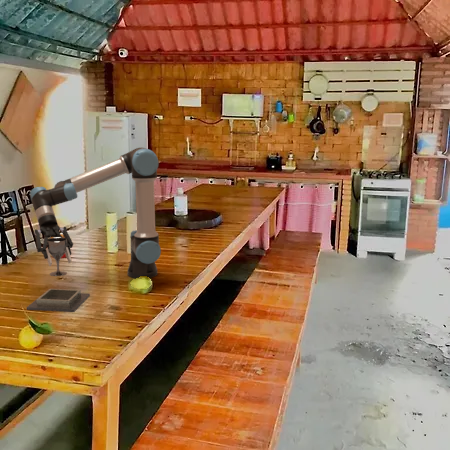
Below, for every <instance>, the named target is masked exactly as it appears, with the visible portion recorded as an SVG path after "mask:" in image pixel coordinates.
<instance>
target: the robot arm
mask: <svg viewBox="0 0 450 450" xmlns="http://www.w3.org/2000/svg"><path fill="white" fill-rule="evenodd" d="M158 168H159V159H158V156H157V154H156V153H155V152H154V151H153V150H151V149H148V148H145V147H136V148H134V149H132V150H131V151H128V152H126V153H124V154H122V155H120V156H119V158H117V159H115V160H112V161H110V162H107V163H105V164H103V165H99V166H98V167H95V168H93V169H90V170H87V171H85V172H83V173H80V174H77V175H75V176H72V177H70V178H68V179H64V180H60V181H57V182H56V184H55V185H54V187H53V188H50V189H47V188H46V187H44V186H37V187H34V188H32V189H31V191H30V192H29V196H30V201H31V204H32V207H33V210H34V214H35V216H36V219H37V223H38V226H39V229H34V231H33V235H34V238H35V243H36V251H37V253H41V254H42V255H43V258H44V259H45V260H46V261H47V263H48V266H49V267H52V264H53V260H52V256H51V254H50V253H49V250H48V249H47V248H48V247H47V239H49V238H51V237H62V236H61V235H60V234H61V233H62V235H63V236H64V238H66V239H67V248H66V252H65V254H66V257H65V258H66V260H67V263H68V264H71V262H72V248H73V247H74V242H73V241H72V238H71V237H70V234H69V232H68V228H67V226H63V227H60V226H59V224H58V221H57V218H56V215H55V212H54V207H53V206H56V205H60V204H63V203H67V202H71V201H73V200H75V199H77V198H78V193H79V192H82V191H85V190H87V189H91V188H92V187H95V186H97V185H99V184H103V183H105V182H107V181H109V180H112V179H114V178H117V177H119V176H122V175H125V174H127V175H129V174H131V179H132V180H133V181H134V182H135V201H136V202H135V204H136V205H135V206H136V207H135V208H136V230H132V231H131V232H130V237H129V238H130V261H129V265H128V268H127V276H128V277H130V278H134V279H138V278H137V277H140V276H147V277H150V278H149V279H151V278H153V277H156V276H158V268H157V264H156V262H157V261H158V259H159V258H160V256H161V253H162V250H161V246H160V239H159V237H160V236H159V233H158V232H157V231H156V214H155V213H156V210H155V209H156V208H155V207H156V206H155V204H156V203H155V181H156V179H158ZM41 234H42V235H43V236H44V239H43V244H42V243H41ZM62 238H63V237H62Z"/></svg>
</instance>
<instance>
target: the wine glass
mask: <svg viewBox="0 0 450 450" xmlns="http://www.w3.org/2000/svg"><path fill="white" fill-rule="evenodd" d="M46 248H47V250H49V254H50V256H51V257H52V258H53V257H54V258H53V259H54V260H55V263H56V271H51V272H50V273H49V276H51V277H62V276H65V275H67V274H68V272H67V271H65V270H61V271H60V262H61V261H60V260H61V259H62V258H61V257H62V256H63V255H64V253H65V252H66V248H67V239H66V238H62V237H55V238H51V237H50V238H48V239H47V247H46Z"/></svg>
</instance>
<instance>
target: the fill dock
mask: <svg viewBox="0 0 450 450" xmlns="http://www.w3.org/2000/svg"><path fill="white" fill-rule="evenodd" d="M90 296H91V294H90V293H89V292H88V293H86V292H85V293H84V292H82V290H81V289H68V288H67V289H63V288H49V289H47V290H46V291H45V292H43V294H41V295H40V296H38V298H36V299H35V300H34V301H33V302H31V303H30V304H29V305H27V306H26V310H27V311H44V312H45V311H46V312H47V311H48V312H49V311H50V312H68V313H75V311H76V310H78V308H80V307H81V305H83V303H84V302H85V301H87V299H88V298H89V297H90Z"/></svg>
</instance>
